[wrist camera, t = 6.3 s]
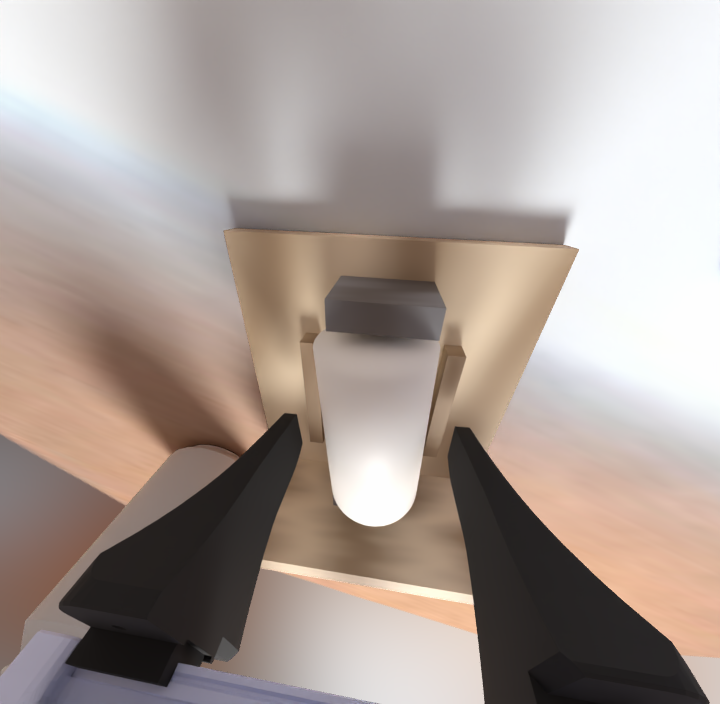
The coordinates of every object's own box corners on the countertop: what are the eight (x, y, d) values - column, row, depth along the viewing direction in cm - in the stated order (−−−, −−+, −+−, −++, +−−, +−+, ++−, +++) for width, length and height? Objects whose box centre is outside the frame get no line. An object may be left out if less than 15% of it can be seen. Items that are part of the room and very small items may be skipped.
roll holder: (564, 244, 10) (791, 310, 4) (465, 478, 19) (497, 608, 13) (236, 228, 12) (65, 261, 6) (281, 454, 20) (233, 563, 14)
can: (158, 441, 21) (-63, 668, 11) (235, 434, 19) (56, 696, 9) (207, 493, 25) (74, 700, 15) (275, 491, 23) (179, 725, 13)
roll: (431, 317, 12) (452, 383, 8) (413, 447, 16) (420, 531, 12) (328, 315, 12) (295, 375, 8) (339, 442, 17) (322, 520, 13)
